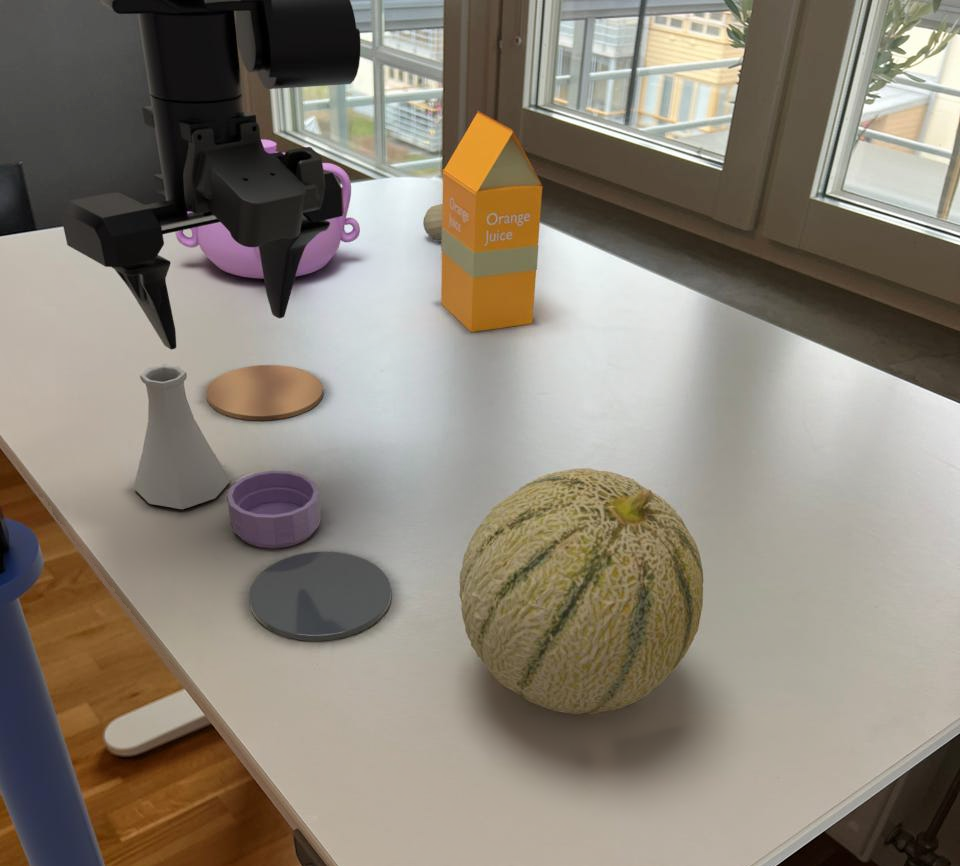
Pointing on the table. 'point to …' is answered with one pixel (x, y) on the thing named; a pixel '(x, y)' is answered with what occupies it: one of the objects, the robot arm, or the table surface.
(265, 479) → the dish
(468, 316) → the orange juice
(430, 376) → the table surface
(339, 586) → the slate coaster
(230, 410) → the cork coaster
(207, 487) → the flask
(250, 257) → the teapot
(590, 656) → the cantaloupe
